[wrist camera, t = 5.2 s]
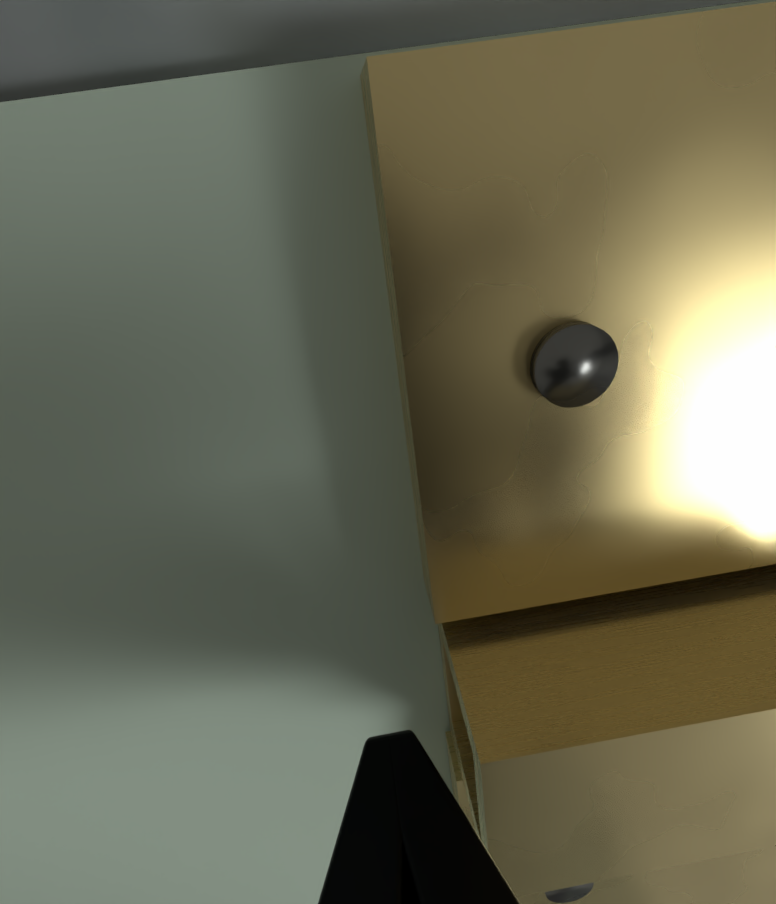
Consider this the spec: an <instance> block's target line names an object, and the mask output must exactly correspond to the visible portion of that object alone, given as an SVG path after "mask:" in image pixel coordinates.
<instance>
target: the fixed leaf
mask: <svg viewBox="0 0 776 904" xmlns="http://www.w3.org/2000/svg"><path fill="white" fill-rule="evenodd" d="M360 80H361V87H362V95H363V103H364V111H365V119H366V127H367V135H368V143H369V150H370V158H371V166H372V174H373V182H374V190H375V198H376V206H377V213H378V221H379V229H380V237H381V245H382V253H383V261H384V269H385V276H386V284H387V292H388V300H389V308H390V316H391V324H392V332H393V339H394V347H395V355H396V363H397V371H398V379H399V387H400V395H401V402H402V410H403V418H404V426H405V434H406V442H407V450H408V458H409V465H410V473H411V481H412V489H413V497H414V505H415V513H416V521H417V528H418V536H419V544H420V552H421V560H422V568H423V576H424V583H425V586H426V590H427V594H428V598H429V602H430V606H431V609H432V613H433V617H434V621H435V624H440V623H445V622H451V621H457V620H462V619H468V618H473V617H479V616H485V615H490V614H496V613H502V612H507V611H513V610H519V609H524V608H530V607H536V606H541V605H547V604H553V603H558V602H564V601H570V600H575V599H581V598H586V597H592V596H598V595H603V594H609V593H615V592H620V591H626V590H632V589H637V588H643V587H649V586H654V585H660V584H666V583H671V582H677V581H683V580H688V579H694V578H699V577H705V576H711V575H716V574H722V573H728V572H733V571H739V570H745V569H750V568H756V567H762V566H767V565H773V564H776V1H775V2H767V3H760V4H752V5H745V6H738V7H730V8H723V9H715V10H708V11H701V12H693V13H686V14H679V15H671V16H664V17H656V18H649V19H642V20H634V21H627V22H619V23H612V24H605V25H597V26H590V27H582V28H575V29H568V30H560V31H553V32H545V33H538V34H531V35H523V36H516V37H508V38H501V39H494V40H486V41H479V42H472V43H464V44H457V45H449V46H442V47H435V48H427V49H420V50H412V51H405V52H398V53H390V54H383V55H375V56H368V57H366V60H365V63H364V66H363V69H362V72H361V75H360Z"/></svg>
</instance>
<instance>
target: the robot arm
mask: <svg viewBox="0 0 776 904" xmlns="http://www.w3.org/2000/svg"><path fill="white" fill-rule="evenodd" d="M318 904H520V902H519V900H518V899H517V897H516V896H515V894H514V892H513V891H512V889H511V888H510V886H509V884H508V883H507V881H506V880H505V878H504V876H503V875H502V873H501V872H500V870H499V868H498V867H497V865H496V863H495V862H494V860H493V859H492V857H491V855H490V854H489V852H488V851H487V849H486V847H485V846H484V844H483V843H482V841H481V839H480V838H479V836H478V835H477V833H476V831H475V830H474V828H473V826H472V825H471V823H470V822H469V820H468V818H467V817H466V815H465V814H464V812H463V810H462V809H461V807H460V806H459V804H458V802H457V801H456V799H455V798H454V796H453V794H452V793H451V791H450V789H449V788H448V786H447V785H446V783H445V781H444V780H443V778H442V777H441V775H440V773H439V772H438V770H437V769H436V767H435V765H434V764H433V762H432V761H431V759H430V757H429V756H428V754H427V752H426V751H425V749H424V748H423V746H422V744H421V743H420V741H419V740H418V738H417V736H416V735H415V733H414V732H413V731H411V730H404V731H399V732H393V733H390V734H383V735H378V736H373V737H369V738H368V739H367V740H366V742H365V744H364V747H363V750H362V754H361V757H360V761H359V764H358V768H357V771H356V774H355V778H354V781H353V785H352V788H351V792H350V795H349V798H348V802H347V805H346V809H345V812H344V816H343V819H342V822H341V826H340V829H339V833H338V836H337V840H336V843H335V846H334V850H333V853H332V857H331V860H330V864H329V867H328V870H327V874H326V877H325V881H324V884H323V888H322V891H321V894H320V898H319V901H318Z"/></svg>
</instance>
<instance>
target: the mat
mask: <svg viewBox="0 0 776 904" xmlns="http://www.w3.org/2000/svg"><path fill="white" fill-rule="evenodd" d="M775 1H776V0H754V1H747V2H739V3H732V4H725V5H717V6H710V7H702V8H695V9H688V10H680V11H673V12H665V13H658V14H651V15H643V16H636V17H628V18H621V19H614V20H606V21H599V22H591V23H584V24H576V25H569V26H562V27H554V28H547V29H539V30H532V31H525V32H517V33H510V34H502V35H495V36H488V37H480V38H473V39H465V40H458V41H451V42H443V43H436V44H428V45H421V46H413V47H406V48H399V49H391V50H384V51H376V52H369V53H362V54H354V55H347V56H339V57H332V58H325V59H317V60H310V61H302V62H295V63H288V64H280V65H273V66H265V67H258V68H250V69H243V70H236V71H228V72H221V73H213V74H206V75H199V76H191V77H184V78H176V79H169V80H162V81H154V82H147V83H139V84H132V85H125V86H117V87H110V88H102V89H95V90H87V91H80V92H73V93H65V94H58V95H50V96H43V97H36V98H28V99H21V100H13V101H6V102H0V904H318V901H319V898H320V894H321V891H322V888H323V884H324V881H325V877H326V874H327V870H328V867H329V864H330V860H331V857H332V853H333V850H334V846H335V843H336V840H337V836H338V833H339V829H340V826H341V822H342V819H343V816H344V812H345V809H346V805H347V802H348V798H349V795H350V792H351V788H352V785H353V781H354V778H355V774H356V771H357V768H358V764H359V761H360V757H361V754H362V750H363V747H364V744H365V742H366V740H367V739H368V738H369V737H373V736H378V735H383V734H390V733H393V732H399V731H404V730H411V731H413V732H414V733H415V735H416V736H417V738H418V740H419V741H420V743H421V744H422V746H423V748H424V749H425V751H426V752H427V754H428V756H429V757H430V759H431V761H432V762H433V764H434V765H435V767H436V769H437V770H438V772H439V773H440V775H441V777H442V778H443V780H444V781H445V783H446V785H447V786H448V788H449V789H450V791H451V793H452V794H453V790H452V782H451V774H450V766H449V758H448V750H447V742H446V734H445V732H446V731H450V723H449V715H448V707H447V698H446V690H445V681H444V673H443V664H442V656H441V648H440V639H439V631H438V624H435V621H434V617H433V613H432V609H431V606H430V602H429V598H428V594H427V590H426V586H425V583H424V576H423V568H422V560H421V552H420V544H419V536H418V528H417V521H416V513H415V505H414V497H413V489H412V481H411V473H410V465H409V458H408V450H407V442H406V434H405V426H404V418H403V410H402V402H401V395H400V387H399V379H398V371H397V363H396V355H395V347H394V339H393V332H392V324H391V316H390V308H389V300H388V292H387V284H386V276H385V269H384V261H383V253H382V245H381V237H380V229H379V221H378V213H377V206H376V198H375V190H374V182H373V174H372V166H371V158H370V150H369V143H368V135H367V127H366V119H365V111H364V103H363V95H362V87H361V80H360V75H361V72H362V69H363V66H364V63H365V60H366V57H368V56H375V55H383V54H390V53H398V52H405V51H412V50H420V49H427V48H435V47H442V46H449V45H457V44H464V43H472V42H479V41H486V40H494V39H501V38H508V37H516V36H523V35H531V34H538V33H545V32H553V31H560V30H568V29H575V28H582V27H590V26H597V25H605V24H612V23H619V22H627V21H634V20H642V19H649V18H656V17H664V16H671V15H679V14H686V13H693V12H701V11H708V10H715V9H723V8H730V7H738V6H745V5H752V4H760V3H767V2H775Z"/></svg>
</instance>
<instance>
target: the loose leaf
mask: <svg viewBox="0 0 776 904" xmlns="http://www.w3.org/2000/svg"><path fill="white" fill-rule="evenodd" d="M438 631H439V639H440V648H441V656H442V664H443V673H444V681H445V690H446V698H447V707H448V715H449V723H450V731H446V732H445V734H446V742H447V750H448V758H449V766H450V774H451V782H452V790H453V796H454V798H455V799H456V801H457V802H458V804H459V806H460V807H461V809H462V810H463V812H464V814H465V815H466V817H467V818H468V820H469V822H470V823H471V825H472V826H473V828H474V830H475V831H476V833H477V835H478V836H479V838H480V839H481V841H482V843H483V844H484V846H485V847H486V849H487V851H488V852H489V854H490V855H491V857H492V859H493V860H494V862H495V863H496V865H497V867H498V868H499V870H500V872H501V873H502V875H503V876H504V878H505V880H506V881H507V883H508V884H509V886H510V888H511V889H512V891H513V892H514V894H515V896H516V897H517V899H518V900H519V902H520V904H776V564H773V565H767V566H762V567H756V568H750V569H745V570H739V571H733V572H728V573H722V574H716V575H711V576H705V577H699V578H694V579H688V580H683V581H677V582H671V583H666V584H660V585H654V586H649V587H643V588H637V589H632V590H626V591H620V592H615V593H609V594H603V595H598V596H592V597H586V598H581V599H575V600H570V601H564V602H558V603H553V604H547V605H541V606H536V607H530V608H524V609H519V610H513V611H507V612H502V613H496V614H490V615H485V616H479V617H473V618H468V619H462V620H457V621H451V622H445V623H440V624H438Z"/></svg>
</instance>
